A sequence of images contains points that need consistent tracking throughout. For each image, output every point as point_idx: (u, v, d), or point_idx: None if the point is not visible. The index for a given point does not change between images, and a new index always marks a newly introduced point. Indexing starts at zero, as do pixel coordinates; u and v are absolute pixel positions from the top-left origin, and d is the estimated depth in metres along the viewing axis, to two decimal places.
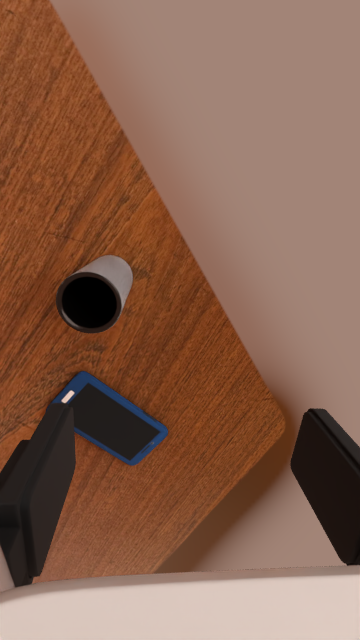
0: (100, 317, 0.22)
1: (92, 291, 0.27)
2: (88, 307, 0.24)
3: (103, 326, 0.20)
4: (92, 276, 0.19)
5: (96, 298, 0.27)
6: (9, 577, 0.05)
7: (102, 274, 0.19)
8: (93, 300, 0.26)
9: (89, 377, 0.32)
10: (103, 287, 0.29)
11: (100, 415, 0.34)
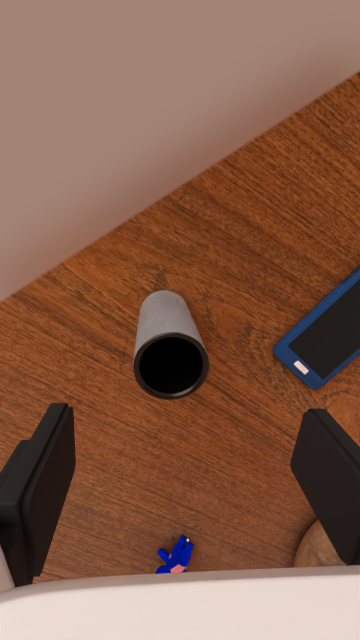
0: None
1: (177, 338, 0.24)
2: (187, 352, 0.21)
3: (201, 353, 0.16)
4: (138, 362, 0.16)
5: None
6: (9, 577, 0.05)
7: (136, 350, 0.16)
8: (184, 341, 0.23)
9: (282, 344, 0.27)
10: None
11: (333, 335, 0.27)
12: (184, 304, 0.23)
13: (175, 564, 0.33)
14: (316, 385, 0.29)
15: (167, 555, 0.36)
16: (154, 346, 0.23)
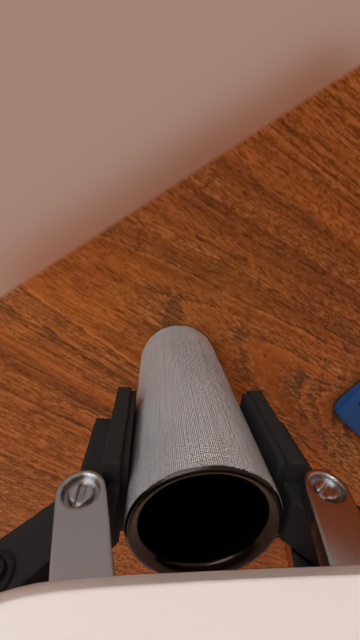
0: None
1: None
2: None
3: (268, 499, 0.08)
4: (135, 523, 0.07)
5: None
6: (109, 539, 0.06)
7: (131, 495, 0.08)
8: None
9: (350, 401, 0.19)
10: None
11: None
12: (212, 353, 0.15)
13: None
14: None
15: None
16: None
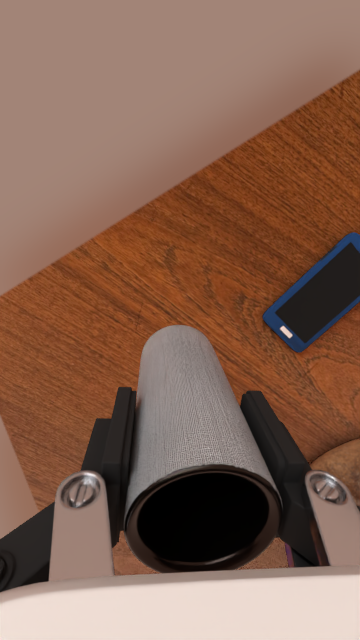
0: None
1: None
2: None
3: (267, 498, 0.08)
4: (134, 522, 0.07)
5: None
6: (109, 539, 0.06)
7: (131, 494, 0.08)
8: None
9: (269, 311, 0.33)
10: None
11: (313, 304, 0.33)
12: (211, 352, 0.15)
13: None
14: (299, 348, 0.35)
15: None
16: None
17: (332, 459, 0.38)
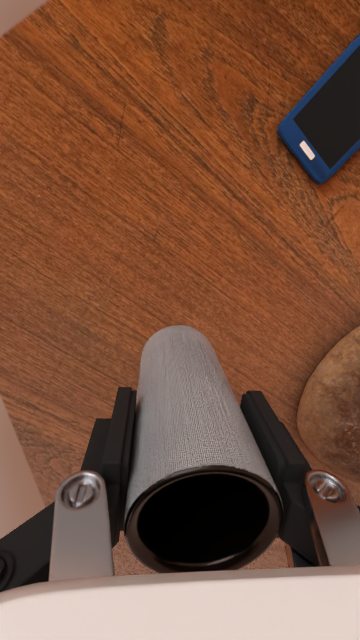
0: None
1: None
2: None
3: (268, 499, 0.08)
4: (135, 523, 0.07)
5: None
6: (109, 539, 0.06)
7: (132, 495, 0.08)
8: None
9: (287, 116, 0.26)
10: None
11: (342, 108, 0.26)
12: (212, 352, 0.15)
13: None
14: (323, 176, 0.28)
15: None
16: None
17: None
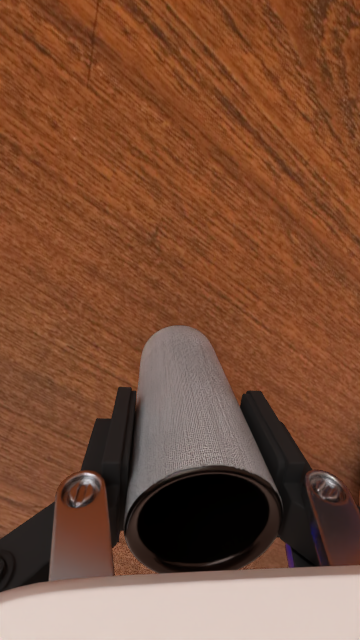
0: None
1: None
2: None
3: (268, 499, 0.08)
4: (135, 523, 0.07)
5: None
6: (109, 539, 0.06)
7: (131, 495, 0.08)
8: None
9: None
10: None
11: None
12: (212, 352, 0.15)
13: None
14: None
15: None
16: None
17: None
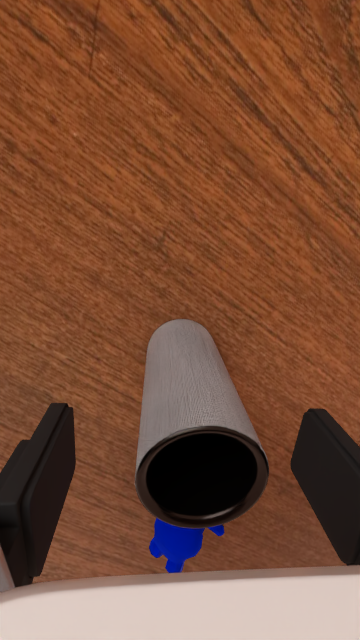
0: None
1: None
2: None
3: (255, 457, 0.09)
4: (144, 475, 0.09)
5: None
6: (9, 577, 0.05)
7: (141, 452, 0.09)
8: None
9: None
10: None
11: None
12: (212, 343, 0.16)
13: None
14: None
15: None
16: None
17: None
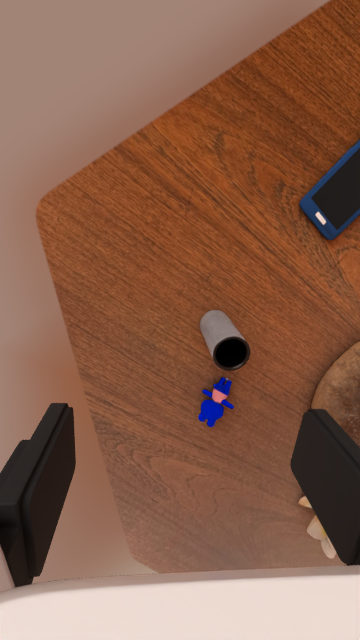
0: (241, 343, 0.35)
1: None
2: (234, 347, 0.37)
3: (246, 346, 0.33)
4: (215, 351, 0.32)
5: None
6: (9, 577, 0.05)
7: (214, 345, 0.33)
8: (229, 341, 0.39)
9: (306, 196, 0.36)
10: None
11: (345, 190, 0.37)
12: (229, 319, 0.39)
13: (219, 387, 0.42)
14: (332, 235, 0.38)
15: (210, 392, 0.45)
16: None
17: None
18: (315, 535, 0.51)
